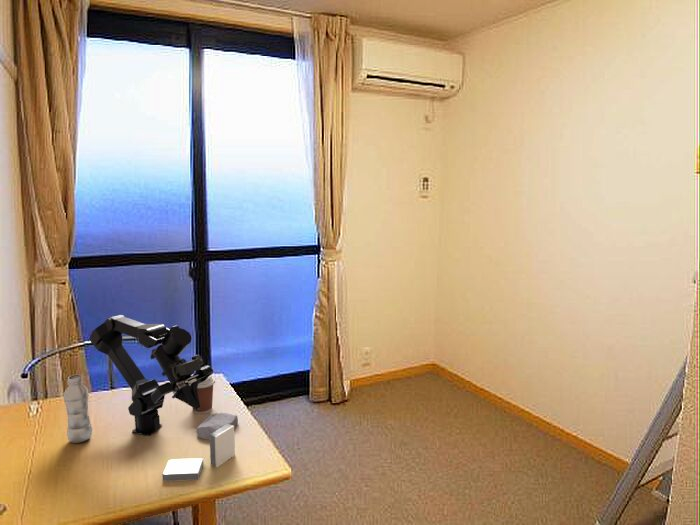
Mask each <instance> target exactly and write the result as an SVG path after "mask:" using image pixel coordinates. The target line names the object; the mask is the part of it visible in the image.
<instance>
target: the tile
mask: <svg viewBox="0 0 700 525" xmlns="http://www.w3.org/2000/svg"><path fill="white" fill-rule="evenodd" d="M209 452H210V453H209V455H210V466H213V467H215V468H218V467H220V466H221V465H222V464H224V463H226V462H227V461H228V459H229V460H230V459H231V457H232V458H233V457H234V455H235V456H236V444H235V427H234V426H233V425H230V424H226V425H225V426H223V427H221V428H220V429H218V430H216V431H215V432H213V433H211V434H210V439H209Z"/></svg>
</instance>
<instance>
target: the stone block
mask: <svg viewBox="0 0 700 525" xmlns="http://www.w3.org/2000/svg"><path fill="white" fill-rule="evenodd" d="M238 423H239V418H238V415H237V414H232V413H228V412H219V413H218V412H217V413H213V414H210V415H209V416H208V417H206V418H205V419H203V421H202V423H200V424H199V425H198V426H197V427H196V435H197V437H198V438H200V439H205V440H210V434H211V433H213V432H215V431H216V430H218V429H220V428H221V427H223V426H225V425H226V424H230V425H233V426H234V428H235V427H236V426H237V425H238Z"/></svg>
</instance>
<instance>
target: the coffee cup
mask: <svg viewBox="0 0 700 525" xmlns="http://www.w3.org/2000/svg"><path fill="white" fill-rule="evenodd" d="M194 374H195V373H193V374H192V375H194ZM212 374H213V373H212ZM212 374H211V375H210V376H209V377H208V378H207V379H206V380H205V381H204V382H201V383H199V384H198V387H197V390H198V397H199V402H200V408H199V409H197V410H196V409H194V408H193V407H192V412H193V413H194V414H197V415H198V414H199V415H202V414H207V413H209V412H211V411H212V410H213V398H214V385H215V383H216V378H215V377H213V375H212ZM186 382H188V381H186Z"/></svg>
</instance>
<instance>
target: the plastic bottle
mask: <svg viewBox="0 0 700 525" xmlns="http://www.w3.org/2000/svg"><path fill="white" fill-rule="evenodd" d="M83 382H84V381H83V375H82V374H72V375H70V376H68V377H67V385H68V387H67V388H65V391H64V392H63V395H62V398H63V402H64V405H65V407H66V413H67V414H66V415H67V430H66V436H67V440H68V441H70V442H71V443H73V444H78V443H79V444H80V443H83V442H86V441H88V440H89V439H90V438H91V436H92V435H93V427H92V423H91V421H90V416H89V389H88V388H87V386H85V385H84V384H83Z"/></svg>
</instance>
